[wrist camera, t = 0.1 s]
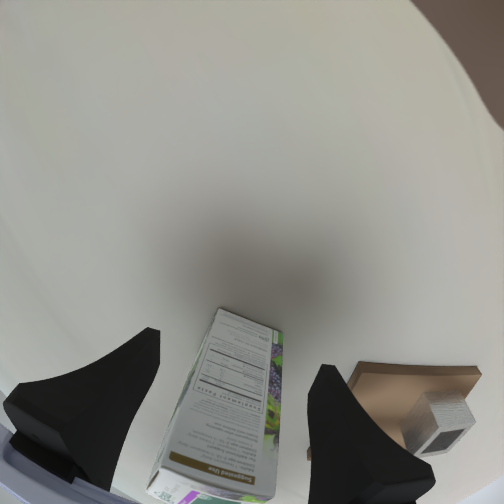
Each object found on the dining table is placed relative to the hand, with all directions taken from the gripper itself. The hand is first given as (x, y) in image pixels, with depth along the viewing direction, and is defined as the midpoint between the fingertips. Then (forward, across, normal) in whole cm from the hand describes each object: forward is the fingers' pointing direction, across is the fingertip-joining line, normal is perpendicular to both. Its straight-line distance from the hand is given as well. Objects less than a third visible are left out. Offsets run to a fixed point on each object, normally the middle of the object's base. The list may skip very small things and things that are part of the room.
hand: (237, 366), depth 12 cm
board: (+10, -19, +15) cm, 26 cm away
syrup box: (+10, 0, +7) cm, 12 cm away
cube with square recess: (+9, -22, +12) cm, 26 cm away
